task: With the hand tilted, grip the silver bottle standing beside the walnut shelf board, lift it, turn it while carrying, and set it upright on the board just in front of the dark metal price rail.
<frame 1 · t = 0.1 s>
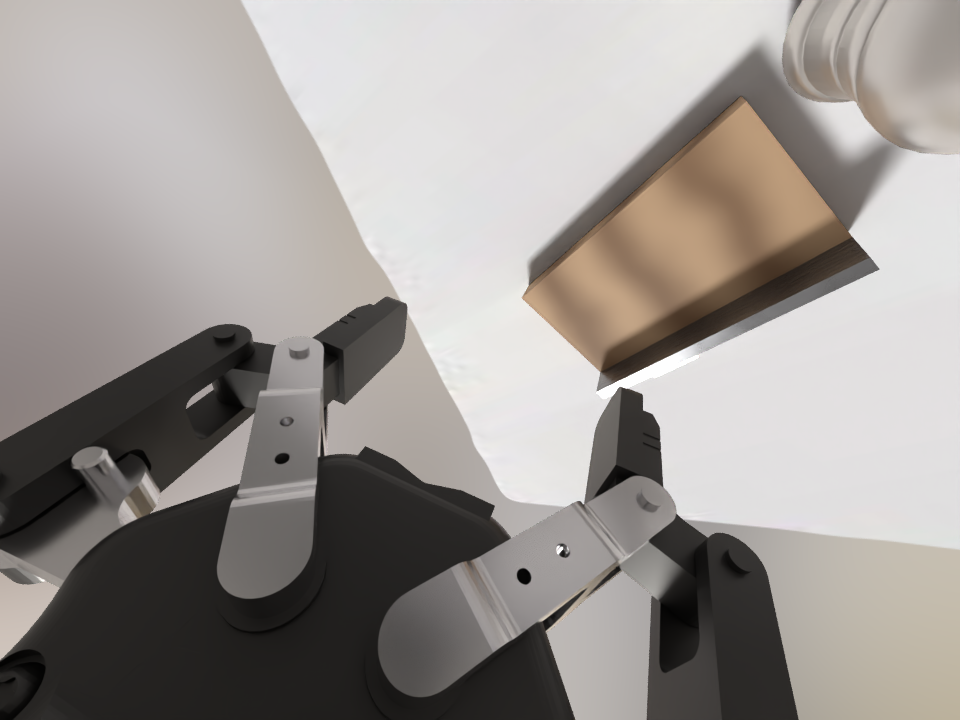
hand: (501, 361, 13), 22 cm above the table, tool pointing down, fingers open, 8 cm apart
price rail: (699, 308, 32), resting on shelf board
silver bottle: (850, 21, 20), on the table
shelf board: (658, 264, 31), on the table
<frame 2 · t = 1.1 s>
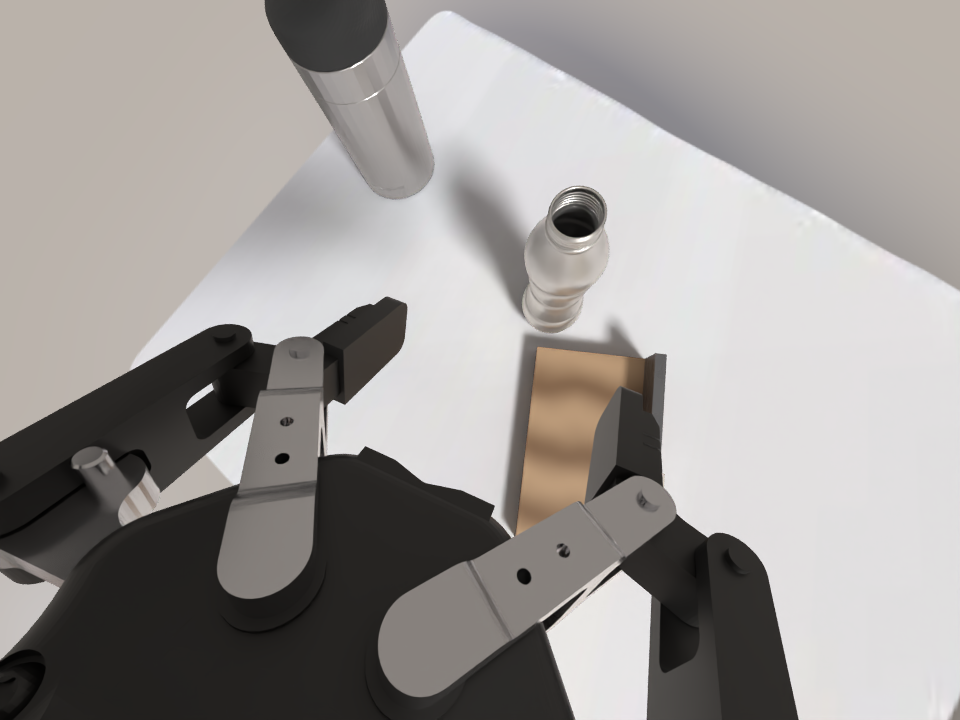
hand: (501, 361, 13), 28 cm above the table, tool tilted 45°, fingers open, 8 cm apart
price rail: (635, 456, 39), resting on shelf board
silver bottle: (549, 310, 43), on the table
shelf board: (582, 448, 39), on the table
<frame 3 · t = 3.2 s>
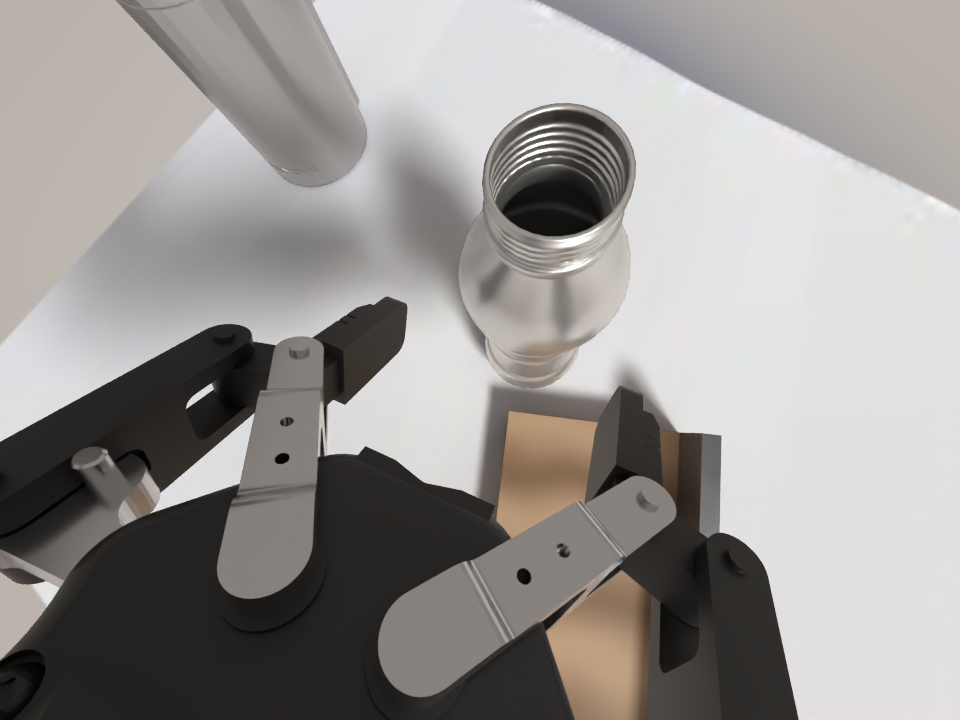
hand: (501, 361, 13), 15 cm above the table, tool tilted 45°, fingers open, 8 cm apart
price rail: (665, 585, 24), resting on shelf board
silver bottle: (530, 349, 28), on the table
shelf board: (580, 570, 25), on the table
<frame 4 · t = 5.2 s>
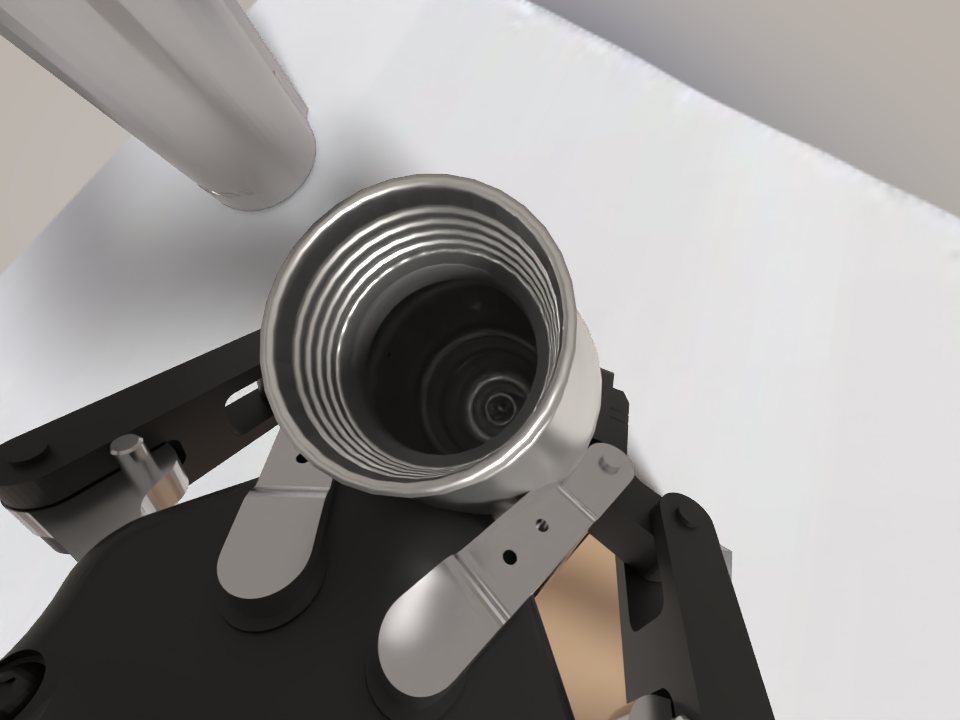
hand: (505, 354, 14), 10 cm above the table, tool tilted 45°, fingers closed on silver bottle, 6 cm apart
silver bottle: (500, 410, 24), on the table, touching gripper
shelf board: (556, 691, 21), on the table
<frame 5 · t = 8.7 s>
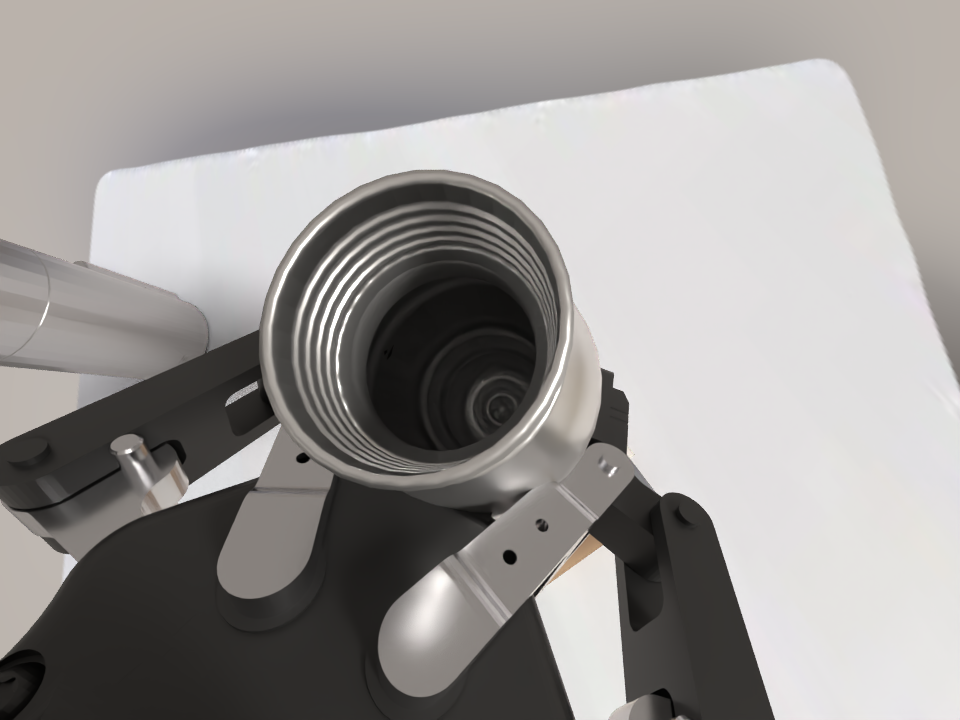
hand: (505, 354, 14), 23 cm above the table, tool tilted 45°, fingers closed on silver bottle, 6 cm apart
silver bottle: (502, 409, 24), point 13 cm above the table, touching gripper
shelf board: (530, 445, 36), on the table
when the fingers open (14 cm above the table, at t = 12.3 s): silver bottle drops 1 cm, resting on shelf board.
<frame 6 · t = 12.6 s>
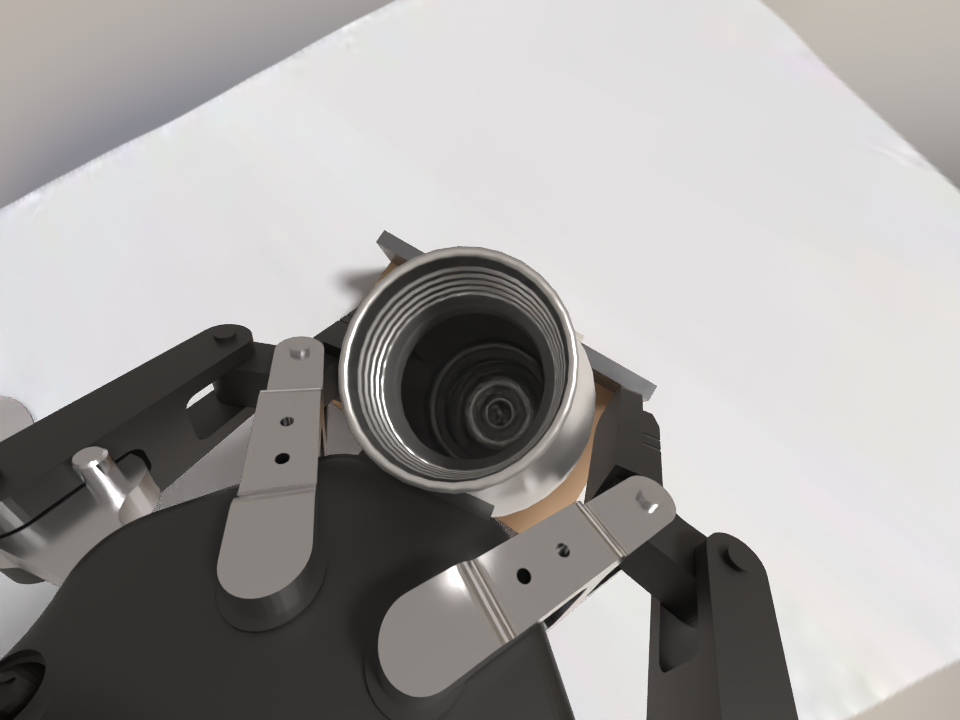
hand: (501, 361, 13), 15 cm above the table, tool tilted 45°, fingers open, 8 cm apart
price rail: (508, 331, 29), resting on shelf board
silver bottle: (499, 413, 25), point 2 cm above the table, touching shelf board
shelf board: (469, 391, 28), on the table
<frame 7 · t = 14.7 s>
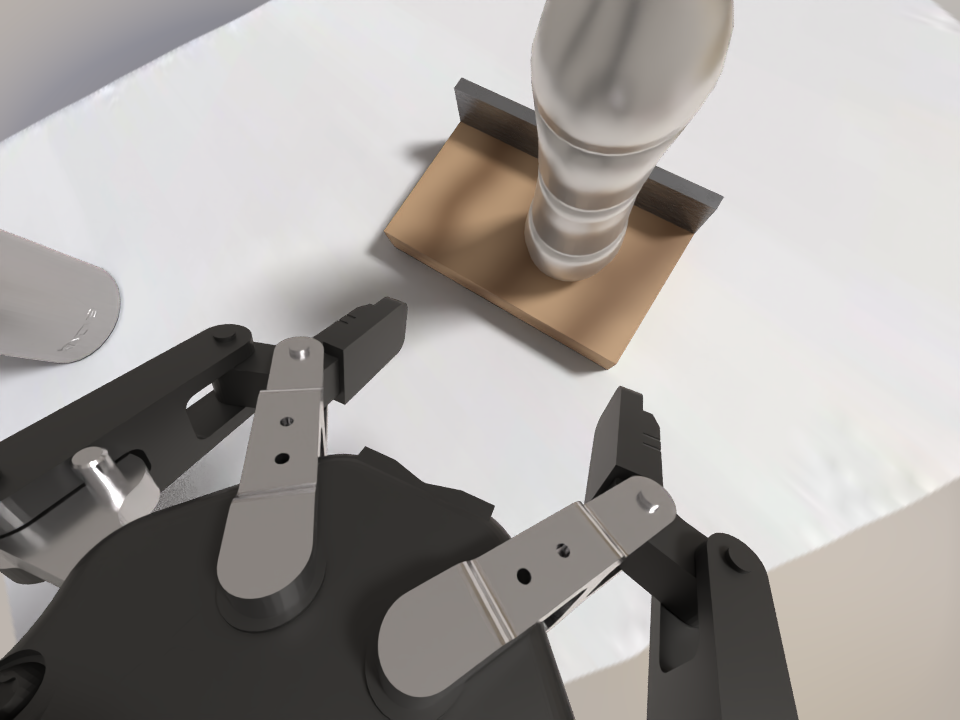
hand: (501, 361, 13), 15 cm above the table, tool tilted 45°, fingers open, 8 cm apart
price rail: (568, 189, 30), resting on shelf board
silver bottle: (568, 248, 27), point 2 cm above the table, touching shelf board
shelf board: (533, 243, 30), on the table
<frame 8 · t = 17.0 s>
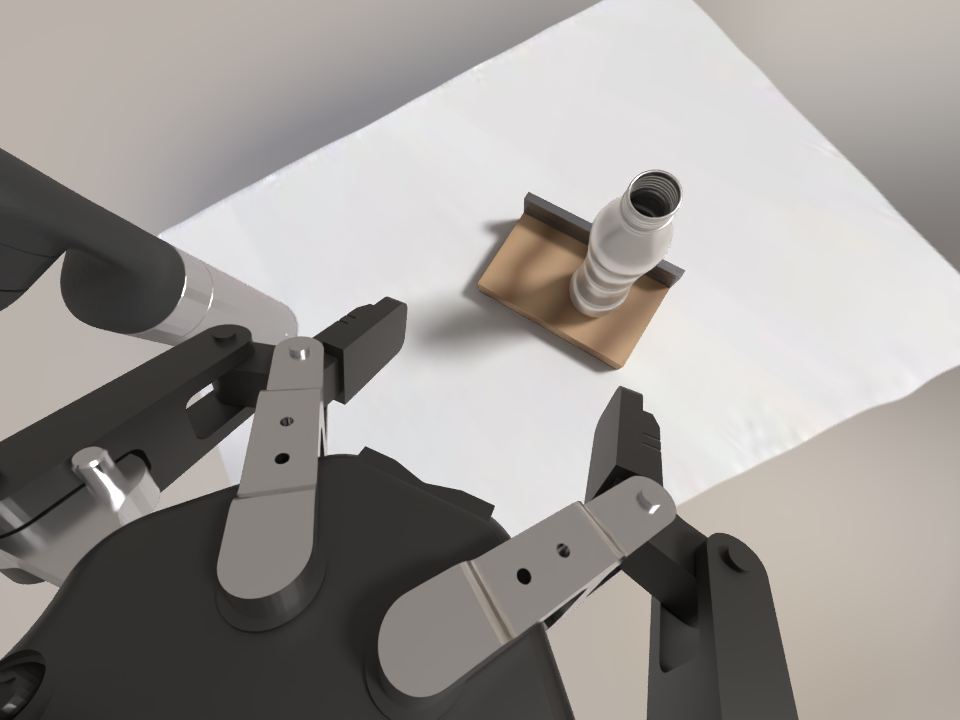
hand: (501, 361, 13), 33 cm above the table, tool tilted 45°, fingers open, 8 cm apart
price rail: (591, 254, 48), resting on shelf board
silver bottle: (593, 296, 44), point 2 cm above the table, touching shelf board
shelf board: (570, 289, 47), on the table
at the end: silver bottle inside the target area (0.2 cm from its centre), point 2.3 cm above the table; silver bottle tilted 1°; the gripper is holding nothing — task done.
